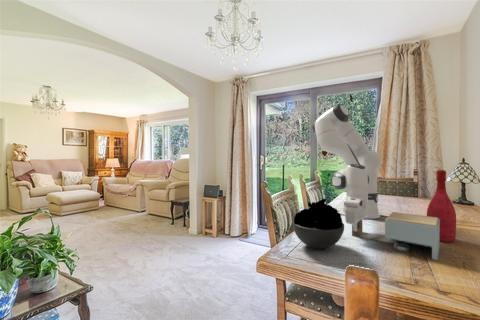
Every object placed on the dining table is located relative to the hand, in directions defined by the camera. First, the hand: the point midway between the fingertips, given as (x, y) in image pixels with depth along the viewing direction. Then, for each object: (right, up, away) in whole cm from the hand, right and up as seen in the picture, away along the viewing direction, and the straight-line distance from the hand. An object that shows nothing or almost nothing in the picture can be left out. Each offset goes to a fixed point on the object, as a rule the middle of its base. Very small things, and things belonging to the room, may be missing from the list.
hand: (357, 229), depth 110 cm
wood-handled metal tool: (+5, -3, -5) cm, 7 cm away
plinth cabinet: (+14, -3, -16) cm, 21 cm away
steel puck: (+9, -3, -17) cm, 19 cm away
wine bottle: (+33, -3, -6) cm, 34 cm away
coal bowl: (-22, -4, -13) cm, 26 cm away
